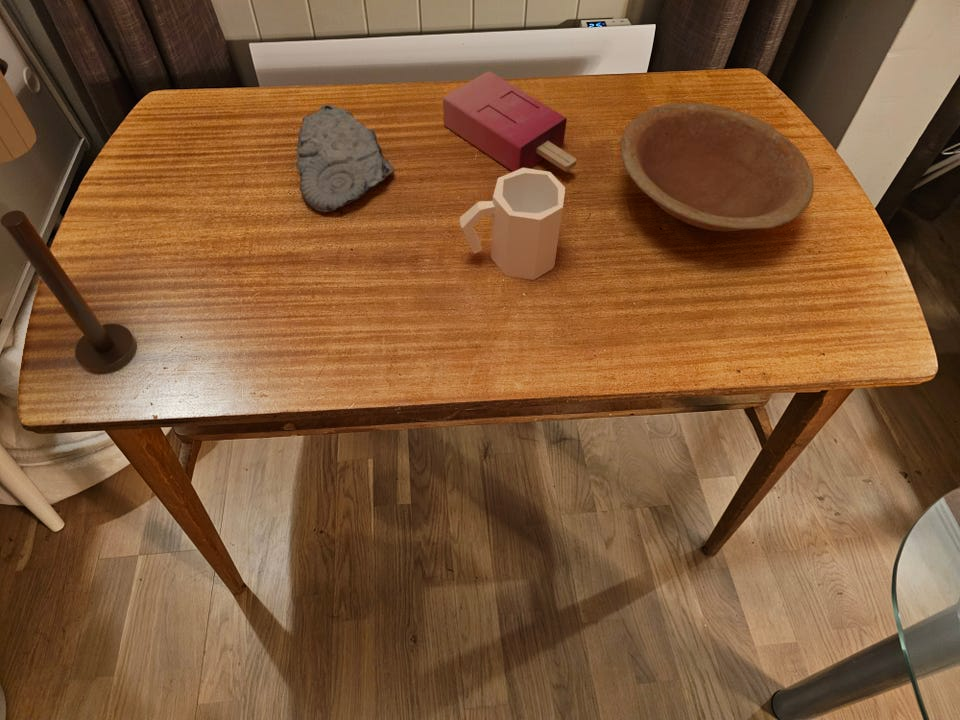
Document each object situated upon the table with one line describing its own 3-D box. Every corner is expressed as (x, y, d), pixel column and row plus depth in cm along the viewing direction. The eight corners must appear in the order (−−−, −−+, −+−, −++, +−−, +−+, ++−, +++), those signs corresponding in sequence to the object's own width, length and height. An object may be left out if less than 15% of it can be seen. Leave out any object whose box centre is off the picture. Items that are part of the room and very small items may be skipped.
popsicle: (550, 167, 89) (442, 96, 97) (547, 196, 93) (443, 126, 101) (597, 135, 93) (489, 69, 101) (592, 164, 97) (489, 98, 105)
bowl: (805, 280, 85) (834, 233, 79) (608, 260, 87) (620, 212, 80) (782, 153, 99) (804, 103, 92) (611, 137, 100) (621, 87, 93)
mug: (548, 225, 90) (556, 163, 82) (565, 275, 85) (575, 215, 77) (455, 237, 88) (453, 175, 80) (467, 289, 84) (467, 229, 76)
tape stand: (85, 382, 75) (-22, 252, 59) (75, 341, 78) (-29, 207, 62) (142, 361, 77) (54, 229, 61) (130, 322, 80) (43, 186, 64)
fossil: (319, 226, 89) (313, 202, 86) (265, 146, 98) (258, 121, 94) (408, 190, 93) (406, 166, 90) (350, 116, 102) (346, 92, 98)
